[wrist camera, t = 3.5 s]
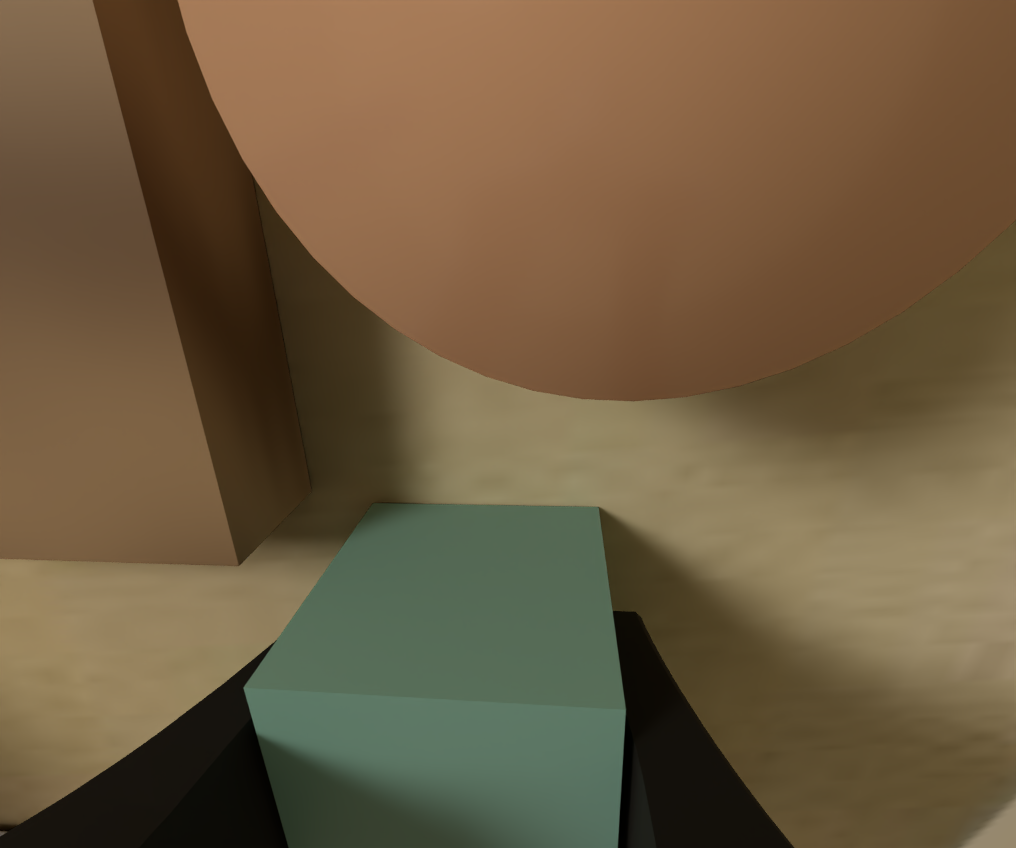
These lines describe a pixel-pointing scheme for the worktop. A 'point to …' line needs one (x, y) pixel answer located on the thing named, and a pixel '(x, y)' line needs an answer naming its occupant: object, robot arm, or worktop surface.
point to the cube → (450, 686)
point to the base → (132, 301)
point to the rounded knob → (625, 170)
